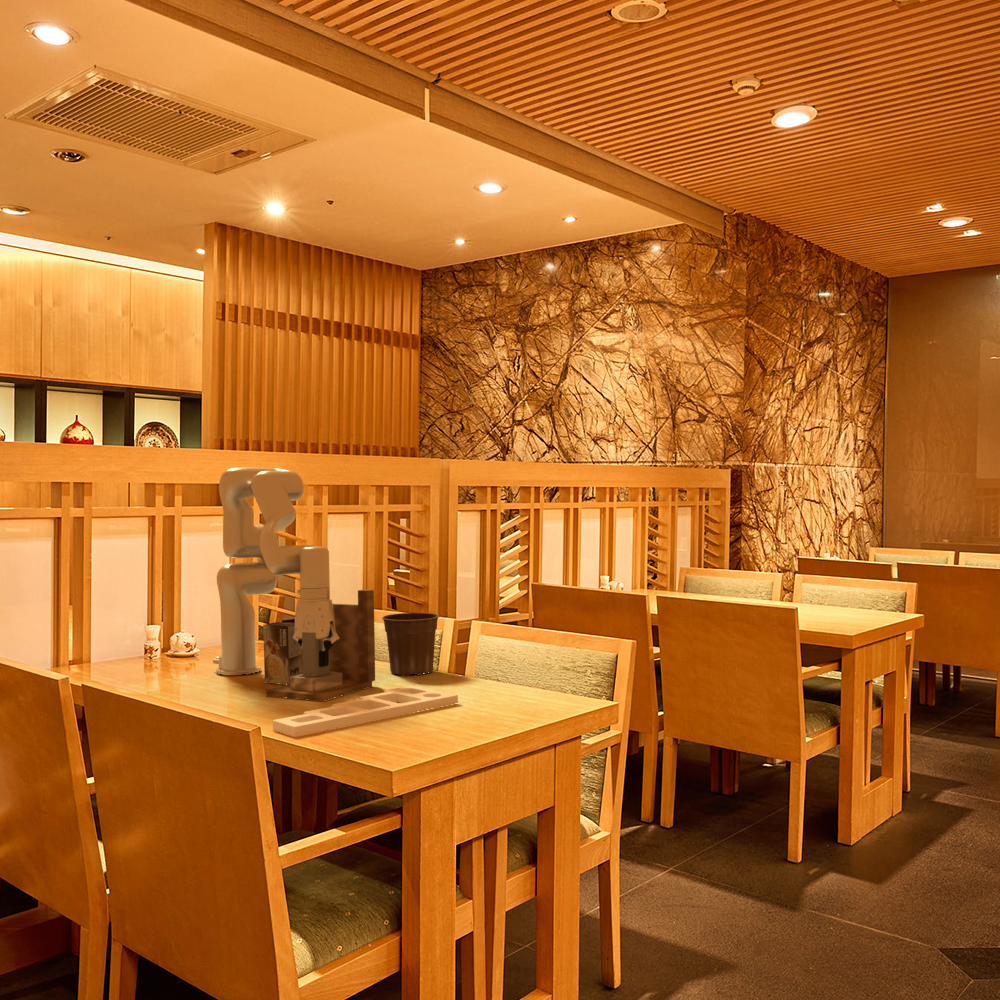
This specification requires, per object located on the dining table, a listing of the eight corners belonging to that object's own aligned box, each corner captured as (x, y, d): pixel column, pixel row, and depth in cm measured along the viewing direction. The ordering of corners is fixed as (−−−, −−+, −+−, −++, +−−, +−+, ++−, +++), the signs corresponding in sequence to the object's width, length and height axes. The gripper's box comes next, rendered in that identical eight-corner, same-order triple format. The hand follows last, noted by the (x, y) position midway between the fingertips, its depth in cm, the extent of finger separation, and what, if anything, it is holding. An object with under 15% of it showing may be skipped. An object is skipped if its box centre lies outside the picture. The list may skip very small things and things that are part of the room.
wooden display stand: (264, 696, 247) (262, 595, 247) (317, 681, 266) (315, 588, 267) (325, 701, 239) (323, 597, 239) (375, 686, 258) (373, 589, 258)
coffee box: (305, 681, 266) (304, 622, 266) (289, 685, 261) (288, 625, 261) (278, 679, 271) (277, 621, 271) (263, 683, 265) (262, 624, 265)
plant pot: (421, 679, 267) (420, 620, 267) (372, 675, 274) (371, 618, 274) (450, 669, 282) (449, 613, 282) (402, 666, 289) (401, 611, 289)
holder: (294, 739, 203) (294, 726, 203) (251, 726, 216) (251, 714, 216) (458, 706, 233) (458, 694, 233) (412, 696, 247) (412, 685, 247)
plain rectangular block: (302, 679, 249) (302, 632, 249) (317, 675, 254) (316, 629, 254) (315, 680, 247) (314, 633, 247) (329, 676, 252) (328, 630, 253)
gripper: (279, 595, 251) (281, 666, 251) (332, 596, 244) (334, 669, 244) (298, 592, 258) (299, 661, 258) (350, 593, 250) (351, 665, 250)
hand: (316, 664), depth 251 cm, fingers closed on plain rectangular block, 4 cm apart
